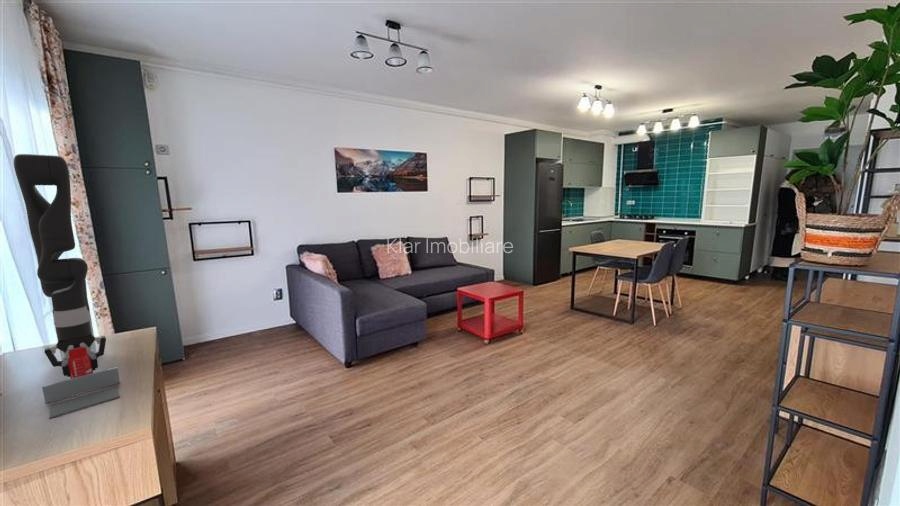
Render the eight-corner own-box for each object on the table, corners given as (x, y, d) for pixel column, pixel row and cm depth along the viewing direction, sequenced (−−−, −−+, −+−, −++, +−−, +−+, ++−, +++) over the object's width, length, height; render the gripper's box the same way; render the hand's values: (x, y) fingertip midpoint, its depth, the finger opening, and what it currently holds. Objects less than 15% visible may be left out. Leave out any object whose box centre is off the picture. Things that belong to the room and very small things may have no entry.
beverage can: (79, 386, 113) (73, 349, 112) (66, 384, 114) (60, 348, 113) (98, 378, 118) (92, 343, 117) (86, 376, 119) (80, 342, 118)
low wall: (45, 402, 105) (42, 385, 104) (119, 381, 116) (117, 366, 116) (45, 403, 104) (42, 387, 103) (119, 382, 116) (117, 367, 115)
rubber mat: (50, 405, 103) (50, 404, 103) (116, 386, 113) (116, 385, 113) (49, 418, 97) (49, 417, 97) (120, 397, 107) (119, 396, 107)
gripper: (103, 313, 121) (110, 362, 124) (38, 325, 111) (48, 377, 113) (105, 318, 116) (113, 368, 119) (37, 331, 106) (48, 385, 108)
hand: (81, 372), depth 116 cm, fingers closed on beverage can, 5 cm apart
